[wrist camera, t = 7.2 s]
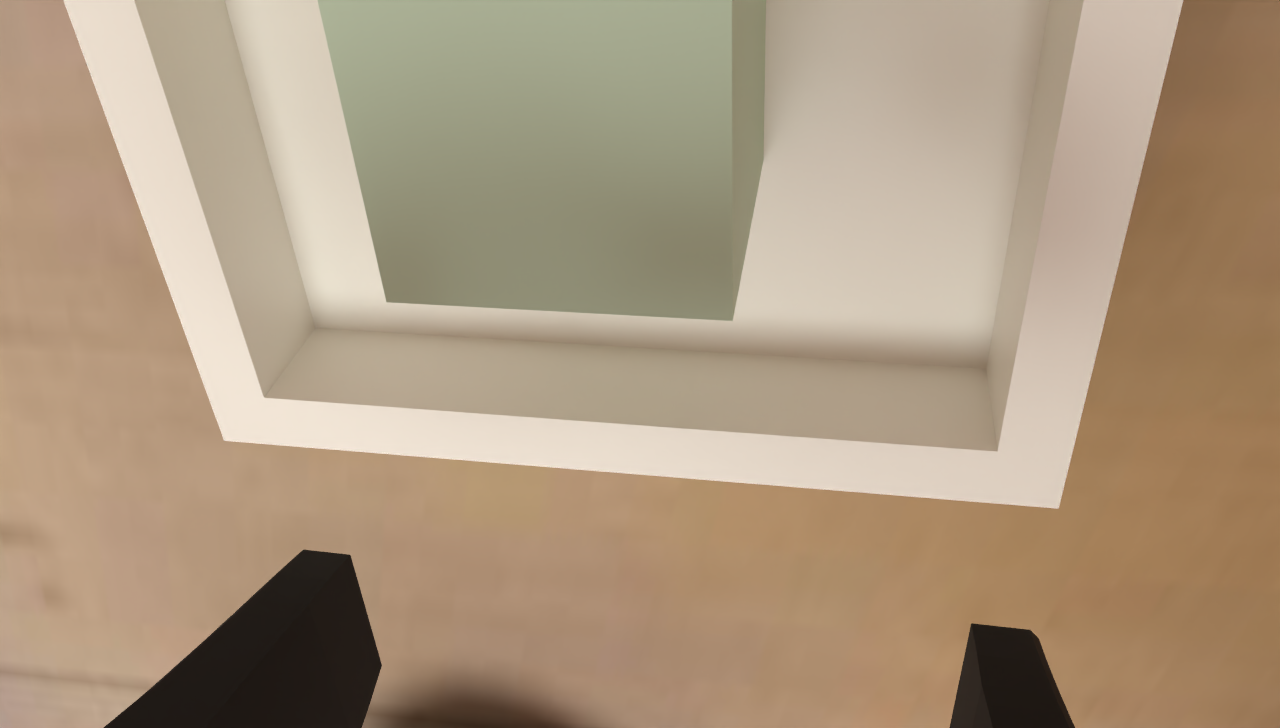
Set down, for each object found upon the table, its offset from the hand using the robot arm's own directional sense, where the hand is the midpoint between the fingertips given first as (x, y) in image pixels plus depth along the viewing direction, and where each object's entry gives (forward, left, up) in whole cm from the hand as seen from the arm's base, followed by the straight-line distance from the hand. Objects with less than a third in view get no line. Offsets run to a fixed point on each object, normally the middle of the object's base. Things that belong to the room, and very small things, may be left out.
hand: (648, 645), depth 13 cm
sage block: (+2, -4, -9) cm, 10 cm away
